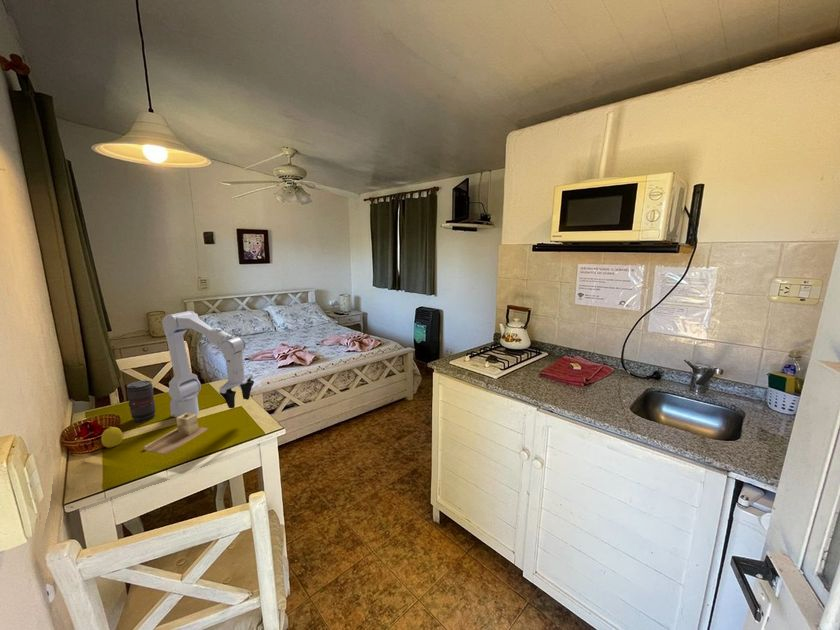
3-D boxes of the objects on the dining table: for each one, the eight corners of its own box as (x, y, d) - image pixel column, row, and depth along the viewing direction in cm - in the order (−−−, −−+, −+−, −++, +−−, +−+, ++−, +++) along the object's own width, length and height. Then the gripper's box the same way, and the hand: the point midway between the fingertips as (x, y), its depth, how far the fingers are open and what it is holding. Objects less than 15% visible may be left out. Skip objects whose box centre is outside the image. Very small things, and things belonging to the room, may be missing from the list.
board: (144, 453, 117) (142, 446, 116) (188, 428, 133) (187, 422, 132) (167, 458, 114) (166, 450, 114) (210, 432, 130) (209, 425, 130)
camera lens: (146, 423, 137) (140, 388, 134) (126, 423, 137) (120, 387, 134) (162, 413, 145) (156, 380, 142) (143, 413, 145) (137, 379, 142)
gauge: (178, 432, 127) (175, 415, 126) (188, 427, 131) (185, 410, 129) (189, 434, 126) (186, 417, 124) (198, 429, 130) (196, 412, 128)
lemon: (107, 454, 116) (102, 432, 115) (101, 449, 119) (96, 428, 118) (127, 446, 121) (123, 425, 119) (121, 442, 124) (117, 421, 122)
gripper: (229, 377, 122) (233, 413, 124) (258, 364, 135) (261, 396, 138) (213, 375, 123) (217, 410, 126) (242, 362, 137) (246, 394, 140)
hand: (239, 403), depth 132 cm, fingers open, 7 cm apart
